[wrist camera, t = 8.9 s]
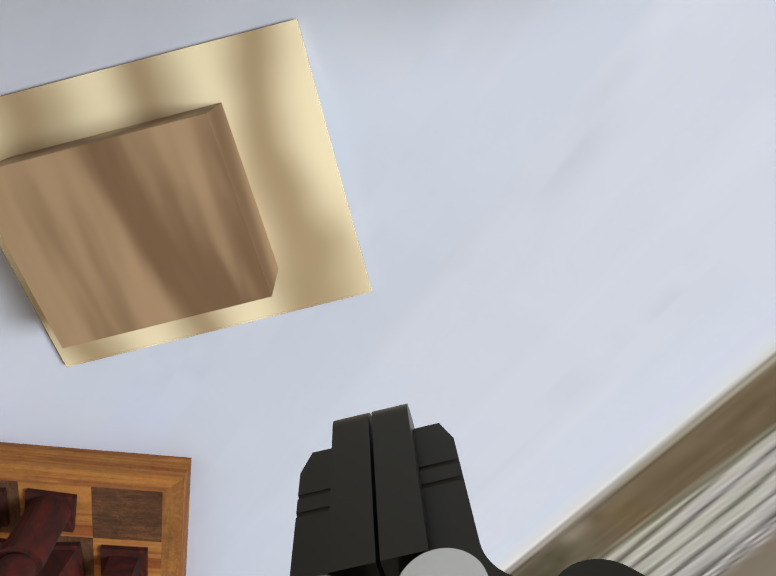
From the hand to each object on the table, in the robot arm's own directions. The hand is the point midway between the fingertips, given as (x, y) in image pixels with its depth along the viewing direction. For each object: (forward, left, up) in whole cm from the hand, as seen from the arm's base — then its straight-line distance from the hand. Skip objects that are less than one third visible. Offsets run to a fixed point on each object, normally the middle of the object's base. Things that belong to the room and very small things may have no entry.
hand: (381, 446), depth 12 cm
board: (+11, 0, -25) cm, 27 cm away
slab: (+6, 0, -22) cm, 23 cm away
